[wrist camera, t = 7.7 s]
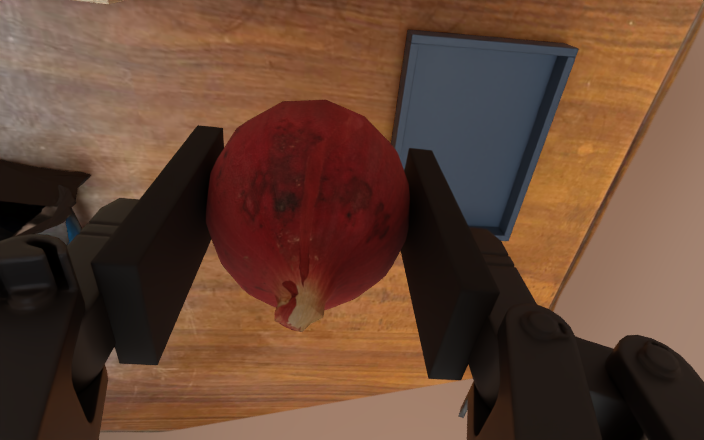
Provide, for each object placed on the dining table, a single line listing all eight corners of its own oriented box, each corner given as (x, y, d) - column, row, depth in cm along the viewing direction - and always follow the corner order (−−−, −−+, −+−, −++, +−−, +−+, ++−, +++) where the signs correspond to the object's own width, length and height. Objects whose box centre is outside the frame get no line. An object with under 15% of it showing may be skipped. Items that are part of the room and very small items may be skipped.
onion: (219, 77, 13) (105, 201, 7) (394, 65, 13) (451, 179, 7) (253, 222, 17) (198, 404, 10) (393, 213, 17) (432, 389, 10)
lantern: (49, 122, 39) (94, 315, 51) (-230, 157, 27) (-85, 396, 40) (139, 184, 31) (166, 394, 44) (-197, 270, 19) (-29, 524, 32)
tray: (407, 29, 30) (412, 34, 28) (565, 43, 31) (579, 48, 29) (379, 222, 39) (381, 235, 38) (500, 228, 40) (508, 241, 39)
